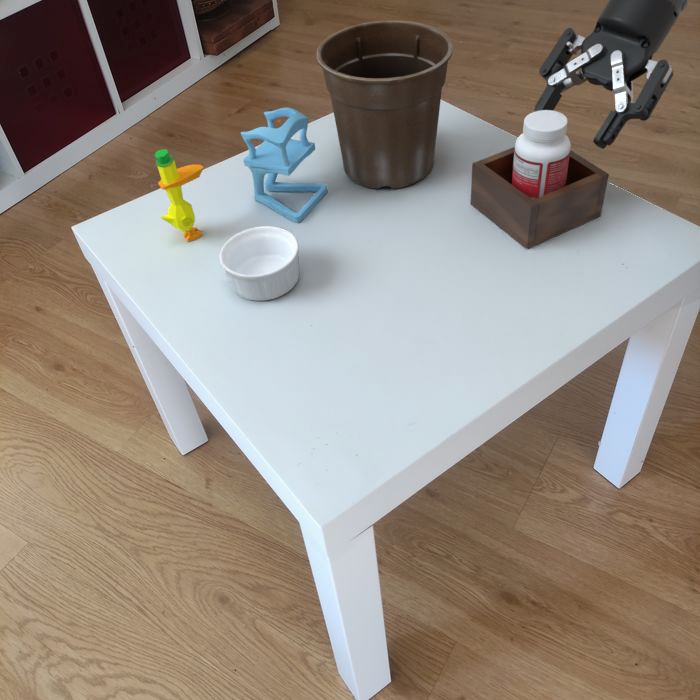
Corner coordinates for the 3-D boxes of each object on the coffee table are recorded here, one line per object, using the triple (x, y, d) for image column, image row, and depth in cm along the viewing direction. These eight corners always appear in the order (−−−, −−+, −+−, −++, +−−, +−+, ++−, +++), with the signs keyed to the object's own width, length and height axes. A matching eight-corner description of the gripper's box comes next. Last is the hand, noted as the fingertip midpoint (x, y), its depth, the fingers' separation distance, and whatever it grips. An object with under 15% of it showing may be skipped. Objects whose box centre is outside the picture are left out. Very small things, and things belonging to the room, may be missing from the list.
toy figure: (211, 218, 92) (188, 133, 84) (224, 230, 90) (202, 145, 82) (163, 239, 90) (135, 154, 81) (176, 253, 88) (147, 167, 79)
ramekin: (287, 310, 79) (281, 280, 76) (214, 299, 81) (205, 270, 78) (314, 260, 85) (309, 230, 81) (244, 251, 87) (237, 221, 84)
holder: (540, 175, 93) (545, 134, 89) (600, 216, 86) (609, 174, 82) (470, 204, 90) (472, 163, 85) (526, 249, 83) (531, 207, 78)
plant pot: (474, 156, 97) (480, 36, 86) (401, 215, 89) (396, 91, 78) (380, 124, 105) (374, 10, 94) (305, 175, 97) (288, 58, 86)
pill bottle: (560, 189, 89) (572, 105, 81) (564, 219, 85) (577, 133, 77) (508, 189, 90) (516, 106, 82) (510, 219, 86) (518, 134, 78)
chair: (276, 178, 98) (261, 94, 89) (329, 190, 94) (319, 104, 86) (244, 209, 93) (225, 124, 84) (299, 223, 90) (285, 136, 81)
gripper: (585, -34, 81) (507, 99, 85) (700, -3, 73) (608, 142, 77) (607, 0, 87) (533, 123, 91) (715, 32, 79) (629, 166, 82)
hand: (567, 132), depth 84 cm, fingers open, 8 cm apart
